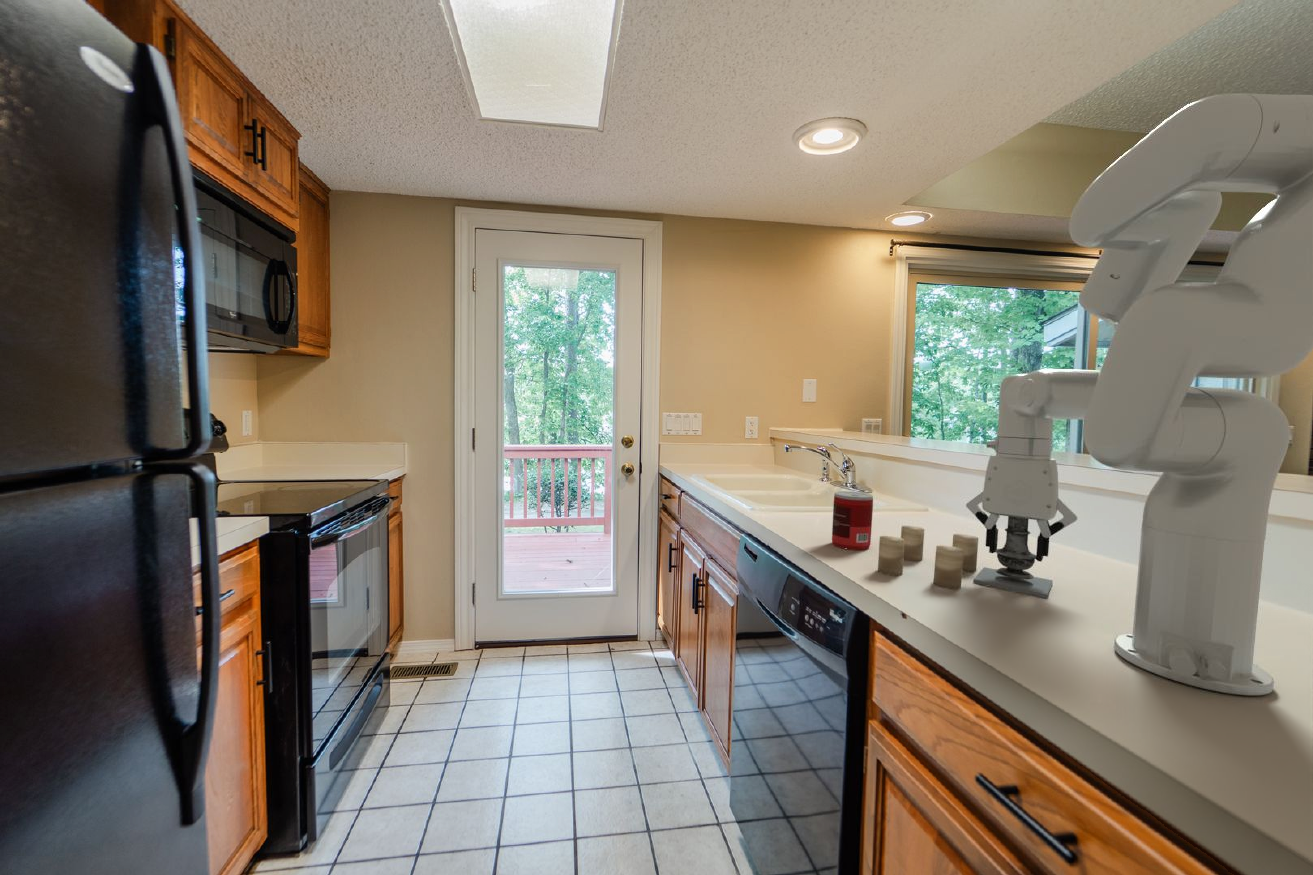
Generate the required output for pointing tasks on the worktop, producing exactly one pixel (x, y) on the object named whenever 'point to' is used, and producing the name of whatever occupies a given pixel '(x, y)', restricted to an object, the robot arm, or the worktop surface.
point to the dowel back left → (913, 542)
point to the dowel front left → (891, 555)
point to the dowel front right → (948, 566)
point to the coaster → (1014, 583)
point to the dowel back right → (967, 550)
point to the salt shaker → (1016, 550)
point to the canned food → (852, 520)
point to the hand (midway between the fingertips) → (1015, 554)
